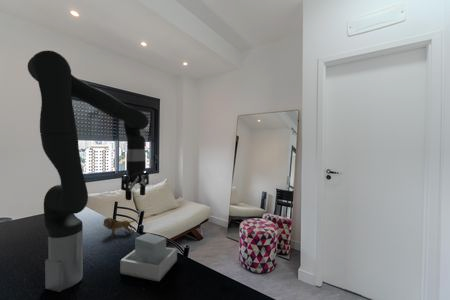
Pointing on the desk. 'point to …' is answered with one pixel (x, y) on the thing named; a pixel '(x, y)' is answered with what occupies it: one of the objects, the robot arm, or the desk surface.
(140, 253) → the skincare box
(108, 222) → the lion figurine
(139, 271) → the tray
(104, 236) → the desk surface
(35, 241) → the desk surface
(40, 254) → the desk surface
